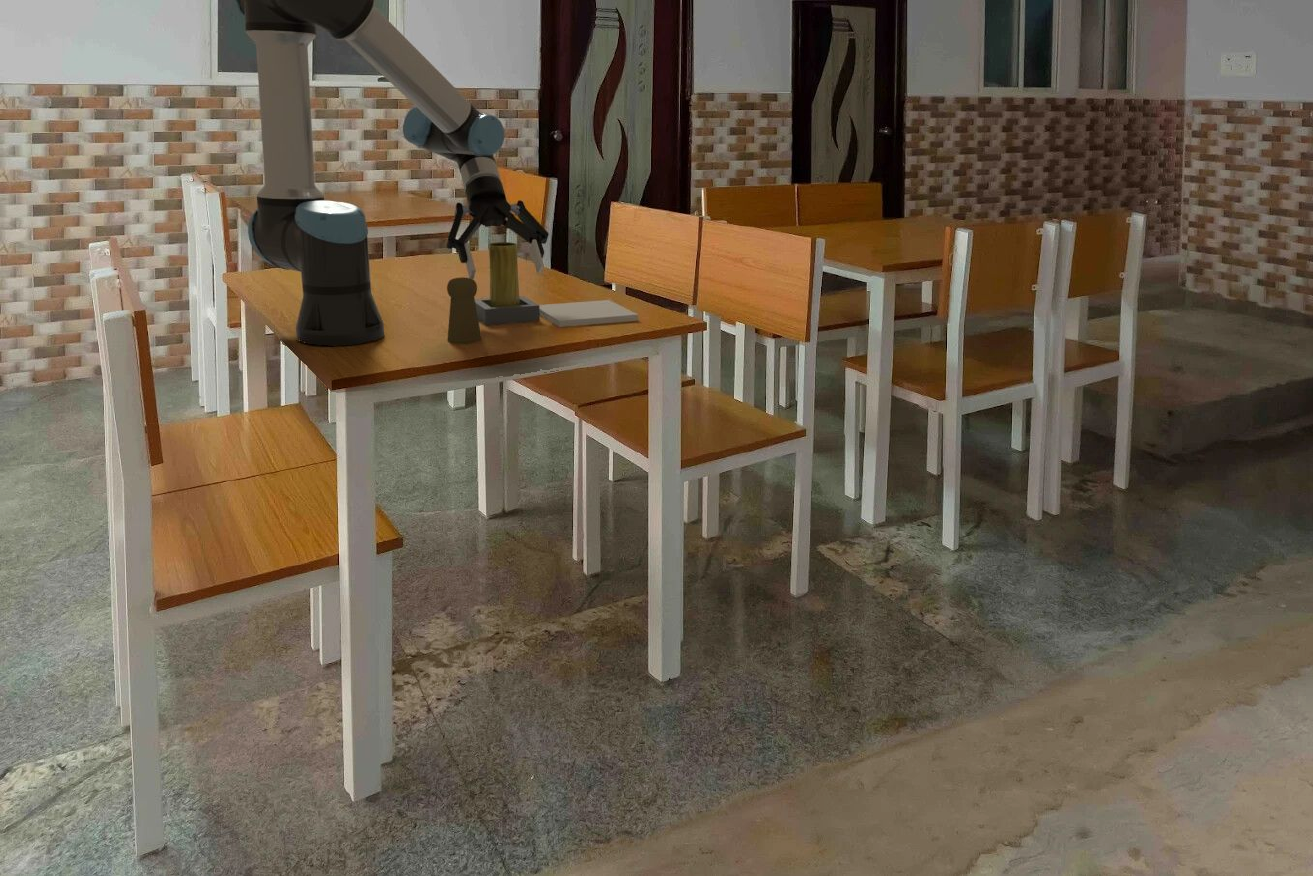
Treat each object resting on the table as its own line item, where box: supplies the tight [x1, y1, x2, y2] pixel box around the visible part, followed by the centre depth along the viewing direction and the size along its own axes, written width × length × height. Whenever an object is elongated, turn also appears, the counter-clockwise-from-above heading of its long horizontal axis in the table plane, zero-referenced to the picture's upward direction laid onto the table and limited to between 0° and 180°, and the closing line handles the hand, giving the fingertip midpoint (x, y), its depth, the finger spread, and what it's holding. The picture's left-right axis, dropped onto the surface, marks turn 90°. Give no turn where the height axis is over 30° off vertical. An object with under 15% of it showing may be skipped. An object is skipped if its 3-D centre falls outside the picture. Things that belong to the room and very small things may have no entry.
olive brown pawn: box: [446, 276, 483, 345], centre depth 195 cm, size 6×6×11 cm
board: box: [538, 299, 639, 328], centre depth 218 cm, size 16×16×1 cm
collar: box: [475, 295, 541, 326], centre depth 215 cm, size 11×11×3 cm
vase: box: [488, 241, 520, 307], centre depth 213 cm, size 6×6×14 cm
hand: (507, 272), depth 214 cm, fingers open, 13 cm apart
